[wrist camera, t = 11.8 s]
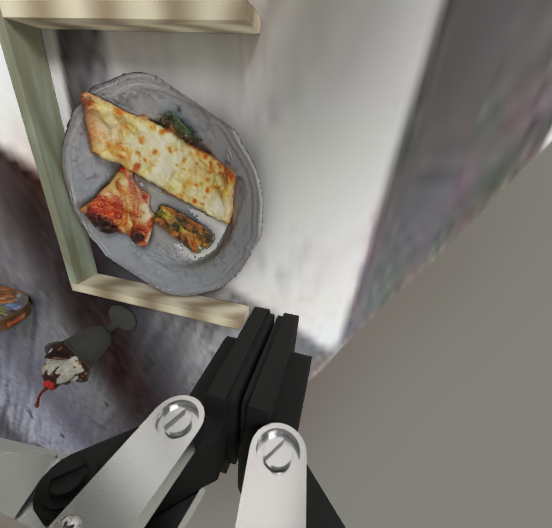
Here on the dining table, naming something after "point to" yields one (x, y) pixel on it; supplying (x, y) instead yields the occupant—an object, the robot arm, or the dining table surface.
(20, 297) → the tin
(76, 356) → the sundae
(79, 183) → the food plate
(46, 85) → the bay
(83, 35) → the dining table surface
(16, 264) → the dining table surface
